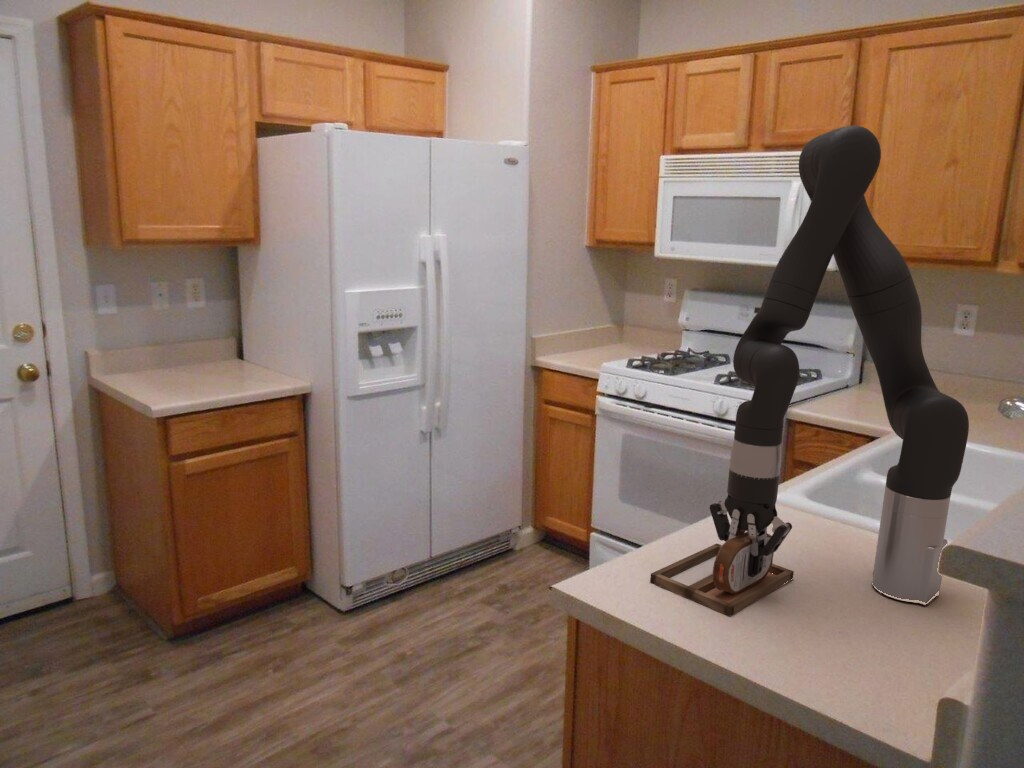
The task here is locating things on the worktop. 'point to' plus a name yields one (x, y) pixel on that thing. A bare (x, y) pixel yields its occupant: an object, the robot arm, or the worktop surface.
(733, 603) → the rack
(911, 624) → the worktop surface
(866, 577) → the worktop surface
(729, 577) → the tin
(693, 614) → the worktop surface
